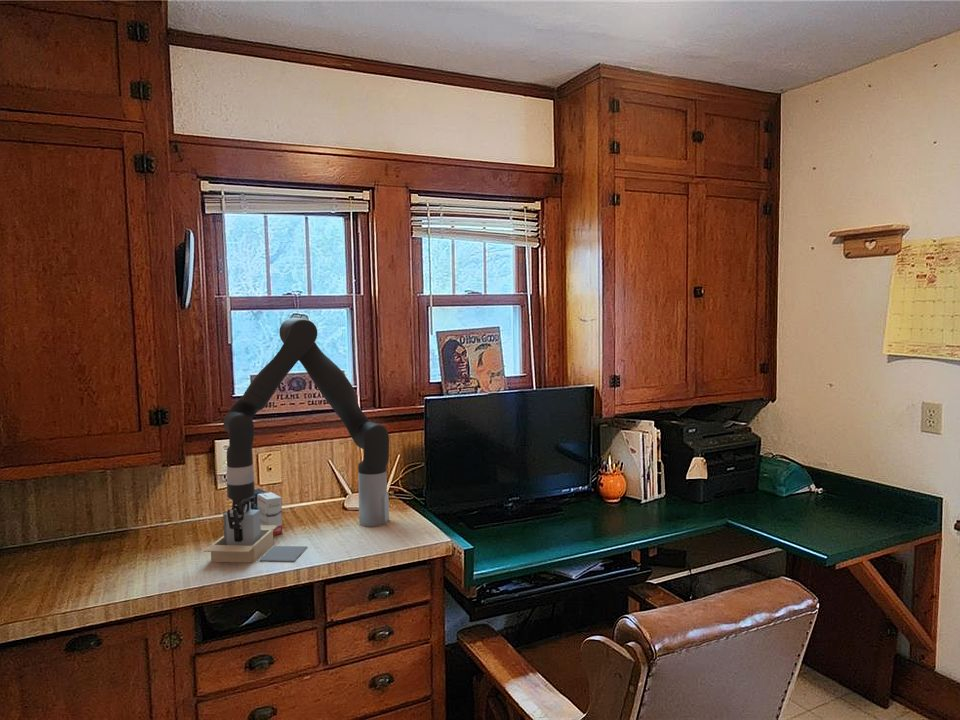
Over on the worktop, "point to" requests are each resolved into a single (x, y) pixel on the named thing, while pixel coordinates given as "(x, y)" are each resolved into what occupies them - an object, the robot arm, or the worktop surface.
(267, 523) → the ink box
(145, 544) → the worktop surface
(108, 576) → the worktop surface
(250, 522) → the box
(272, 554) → the mat
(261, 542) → the beige shallow rectangular tray
